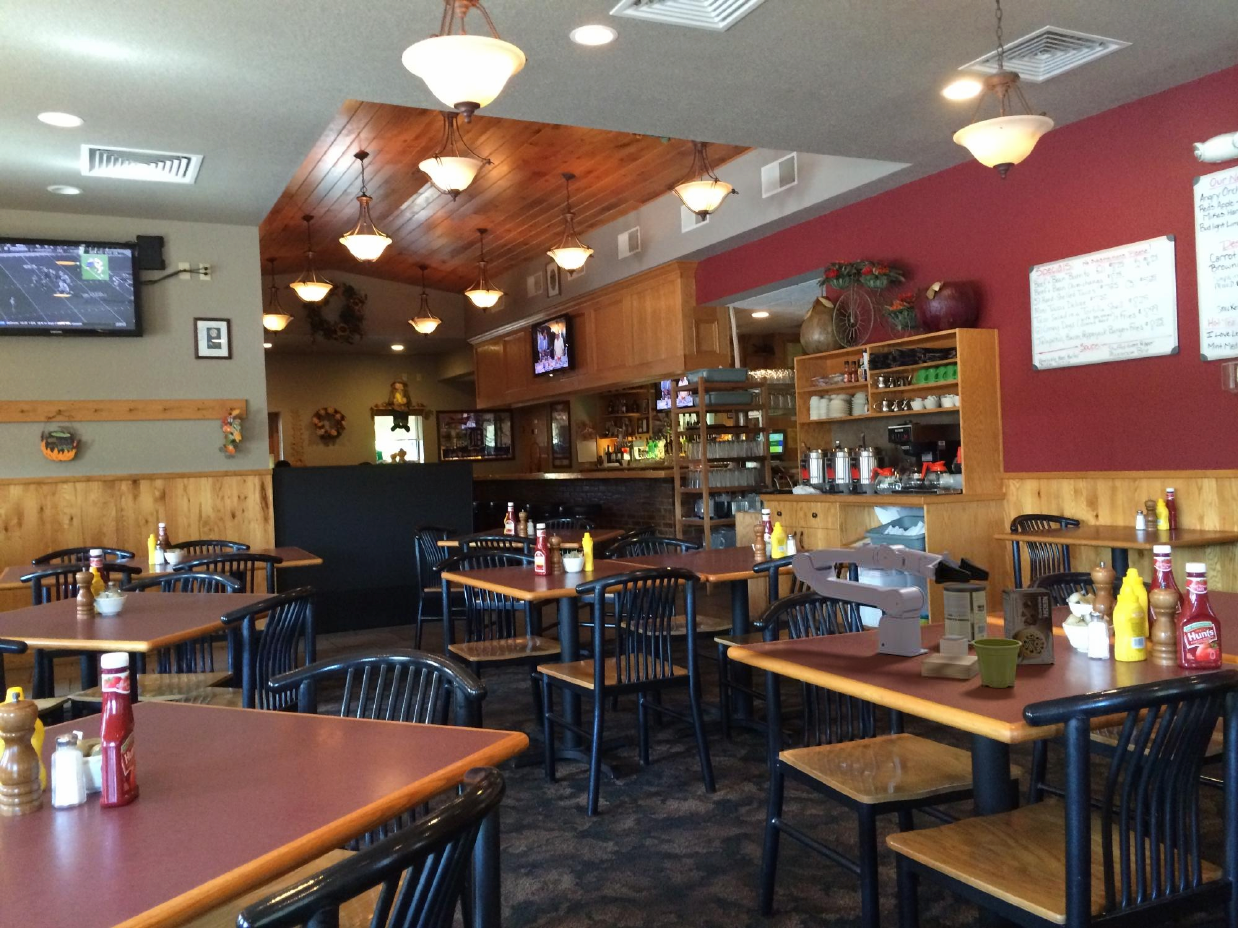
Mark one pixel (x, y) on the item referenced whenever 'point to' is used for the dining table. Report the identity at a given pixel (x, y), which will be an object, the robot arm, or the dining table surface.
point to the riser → (950, 666)
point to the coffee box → (1029, 624)
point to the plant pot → (997, 661)
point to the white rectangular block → (954, 645)
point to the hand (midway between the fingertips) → (979, 577)
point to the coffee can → (965, 610)
